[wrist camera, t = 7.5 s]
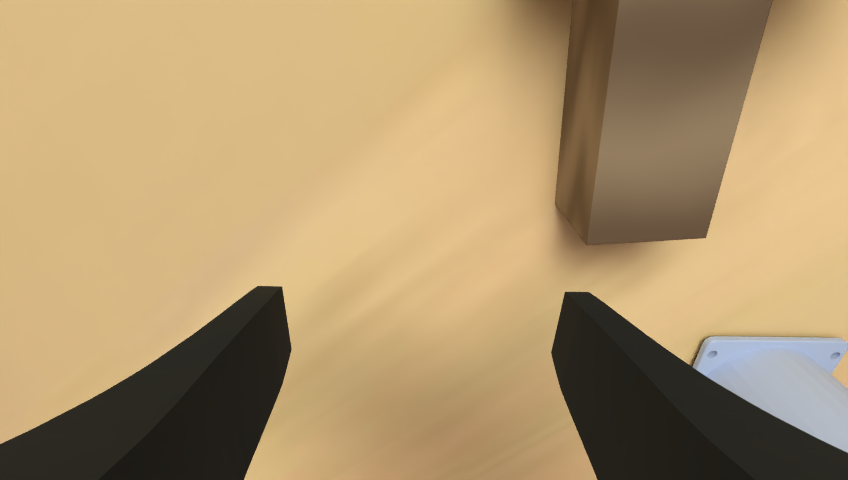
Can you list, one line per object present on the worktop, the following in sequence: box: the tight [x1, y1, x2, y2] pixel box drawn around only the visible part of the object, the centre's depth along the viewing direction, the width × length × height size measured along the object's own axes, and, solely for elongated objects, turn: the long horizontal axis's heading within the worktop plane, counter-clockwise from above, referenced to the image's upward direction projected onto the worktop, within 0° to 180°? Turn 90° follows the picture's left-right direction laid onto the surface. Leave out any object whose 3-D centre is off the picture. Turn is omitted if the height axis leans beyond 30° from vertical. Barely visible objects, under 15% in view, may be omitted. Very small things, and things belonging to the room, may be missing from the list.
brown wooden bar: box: [555, 0, 772, 245], centre depth 15 cm, size 14×4×4 cm, turn 4°
